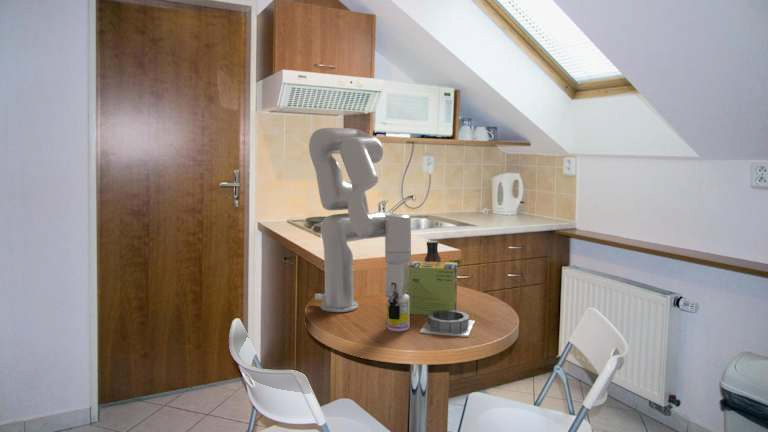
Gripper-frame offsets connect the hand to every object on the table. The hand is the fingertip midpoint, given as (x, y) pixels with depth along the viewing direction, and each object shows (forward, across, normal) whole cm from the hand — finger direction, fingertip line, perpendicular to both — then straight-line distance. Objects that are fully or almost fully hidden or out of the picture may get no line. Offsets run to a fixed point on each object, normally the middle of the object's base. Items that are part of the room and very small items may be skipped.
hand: (398, 314), depth 161 cm
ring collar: (+4, -5, +14) cm, 15 cm away
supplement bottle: (+5, 0, 0) cm, 5 cm away
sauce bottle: (+4, -41, +2) cm, 41 cm away
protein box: (+5, -21, +6) cm, 22 cm away
